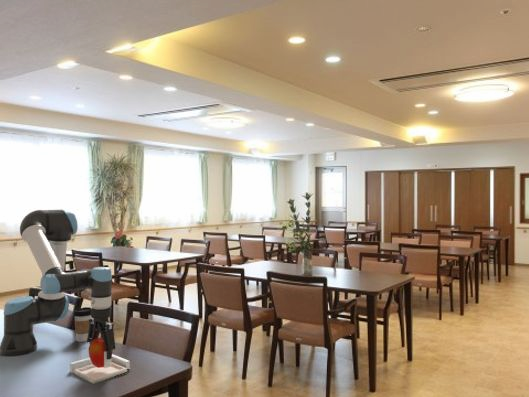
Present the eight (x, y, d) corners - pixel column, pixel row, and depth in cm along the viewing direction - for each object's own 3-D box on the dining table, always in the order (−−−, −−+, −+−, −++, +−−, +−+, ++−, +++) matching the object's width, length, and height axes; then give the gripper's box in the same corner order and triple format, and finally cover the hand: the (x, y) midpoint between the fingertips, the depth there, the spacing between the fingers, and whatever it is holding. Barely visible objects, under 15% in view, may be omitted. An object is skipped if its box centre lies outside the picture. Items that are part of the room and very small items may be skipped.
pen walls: (69, 371, 182) (69, 362, 182) (107, 360, 195) (108, 352, 195) (90, 382, 172) (90, 372, 172) (129, 369, 185) (129, 360, 185)
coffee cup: (95, 339, 225) (96, 308, 225) (80, 343, 217) (80, 312, 218) (84, 336, 229) (85, 306, 229) (69, 340, 222) (70, 309, 222)
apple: (83, 367, 179) (83, 337, 179) (102, 361, 187) (103, 331, 187) (98, 372, 174) (98, 341, 174) (117, 365, 182) (118, 335, 182)
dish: (74, 374, 179) (74, 369, 179) (107, 364, 190) (107, 360, 190) (93, 383, 170) (93, 378, 170) (126, 372, 181) (126, 368, 181)
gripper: (78, 304, 185) (77, 360, 185) (107, 313, 171) (107, 373, 170) (95, 301, 190) (94, 355, 190) (125, 309, 176) (125, 368, 176)
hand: (100, 363), depth 180 cm, fingers closed on apple, 9 cm apart
